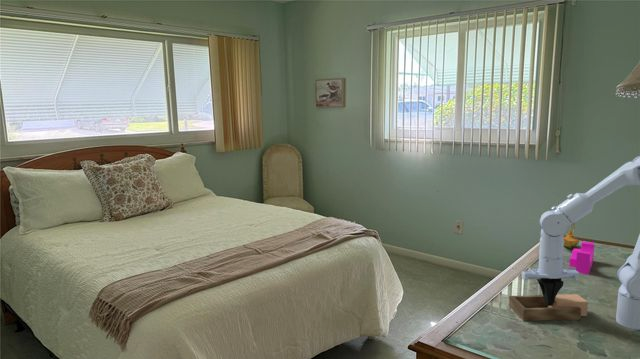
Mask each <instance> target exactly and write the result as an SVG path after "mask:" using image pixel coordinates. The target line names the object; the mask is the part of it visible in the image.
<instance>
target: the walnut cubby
mask: <svg viewBox="0 0 640 359" xmlns="http://www.w3.org/2000/svg"><path fill="white" fill-rule="evenodd" d="M508 306H509V307H510V308H509V309H511V310H512V311H513V312H514V313H515V314H516V315H517V316H518V317H519V319H521V320H522V321H526V322H527V321H569V320H574V321H575V320H578V321H579V320H581V317H582V316H581V308H580V307H555V308H548V305H546V304H545V303H544V297H543V294H539V295H536V294H534V295H531V294H530V295H509V296H508Z"/></svg>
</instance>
